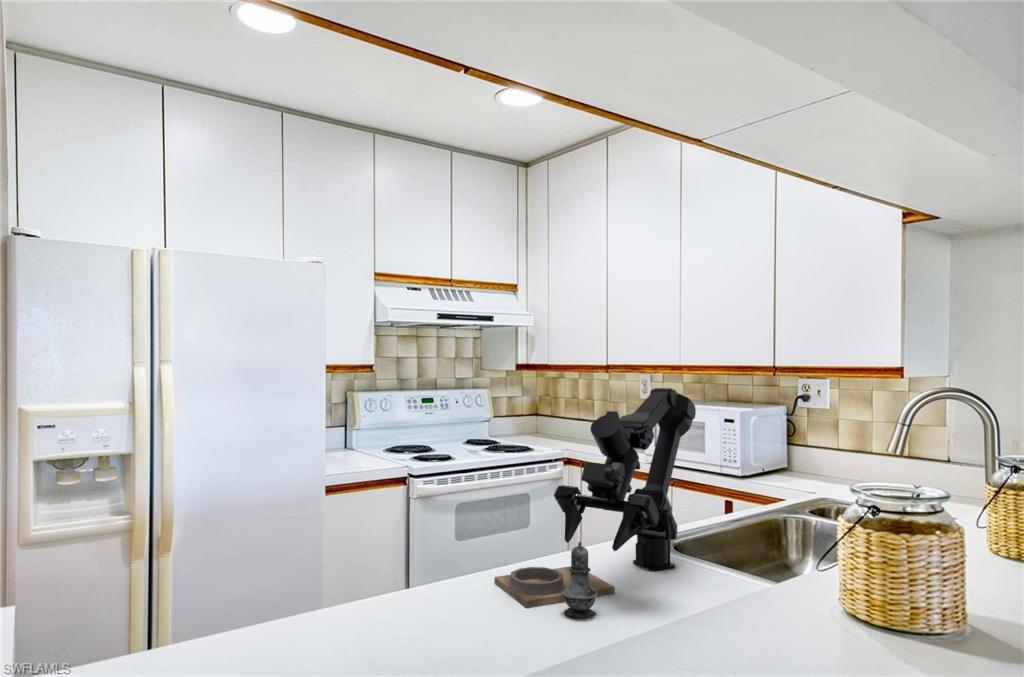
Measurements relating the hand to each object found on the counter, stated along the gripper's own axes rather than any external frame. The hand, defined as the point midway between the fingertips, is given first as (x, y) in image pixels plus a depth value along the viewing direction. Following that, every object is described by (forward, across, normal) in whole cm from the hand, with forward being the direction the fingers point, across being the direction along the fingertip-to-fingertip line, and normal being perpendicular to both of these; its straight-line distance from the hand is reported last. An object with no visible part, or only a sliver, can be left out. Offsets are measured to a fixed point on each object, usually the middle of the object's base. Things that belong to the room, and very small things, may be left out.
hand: (589, 545), depth 110 cm
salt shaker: (+10, 0, +5) cm, 11 cm away
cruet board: (+4, -10, +11) cm, 15 cm away
